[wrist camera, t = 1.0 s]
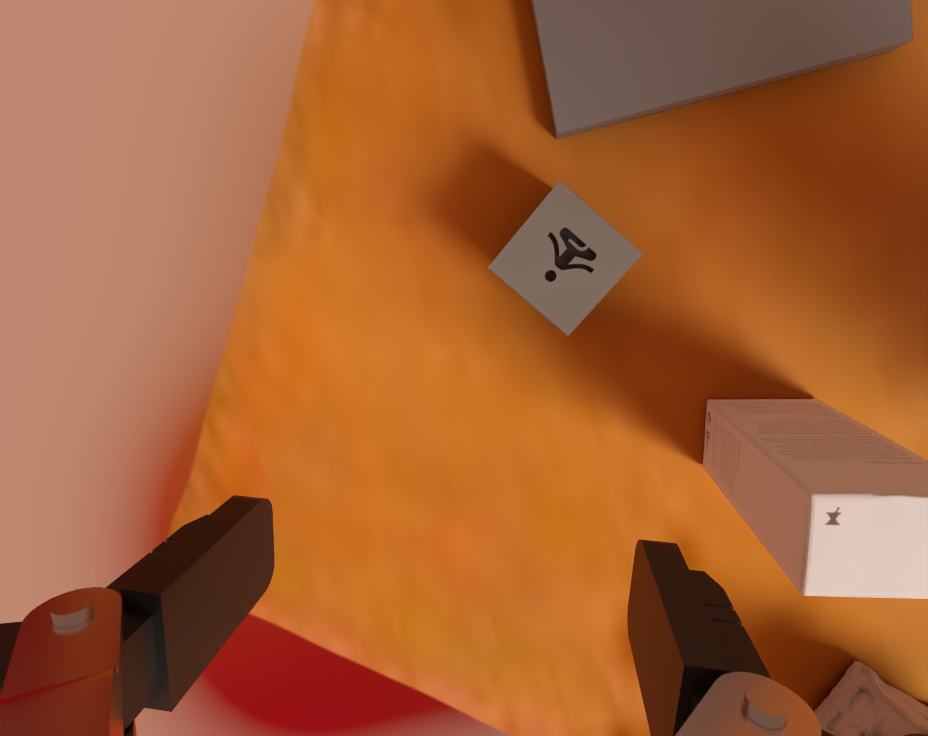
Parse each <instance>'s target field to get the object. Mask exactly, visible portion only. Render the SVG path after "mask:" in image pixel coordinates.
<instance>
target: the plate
mask: <svg viewBox="0 0 928 736" xmlns="http://www.w3.org/2000/svg"><path fill="white" fill-rule="evenodd" d="M531 6H532V11H533V16H534V22H535V27H536V33H537V38H538V44H539V49H540V54H541V60H542V65H543V71H544V76H545V81H546V87H547V92H548V98H549V103H550V108H551V114H552V119H553V125H554V130H555V135H556V139H558V138H561V137H565V136H569V135H573V134H577V133H580V132H584V131H588V130H592V129H596V128H599V127H603V126H607V125H611V124H615V123H618V122H622V121H626V120H630V119H634V118H637V117H641V116H645V115H649V114H653V113H657V112H660V111H664V110H668V109H672V108H676V107H679V106H683V105H687V104H691V103H695V102H698V101H702V100H706V99H710V98H714V97H717V96H721V95H725V94H729V93H733V92H736V91H740V90H744V89H748V88H752V87H755V86H759V85H763V84H767V83H771V82H775V81H778V80H782V79H786V78H790V77H794V76H797V75H801V74H805V73H809V72H813V71H816V70H820V69H824V68H828V67H832V66H835V65H839V64H843V63H847V62H851V61H854V60H858V59H862V58H866V57H870V56H873V55H877V54H881V53H885V52H889V51H892V50H894V49H896V48H898V47H900V46H902V45H904V44H905V43H907V42H909V41H911V40H913V33H912V18H911V2H910V0H531Z"/></svg>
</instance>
